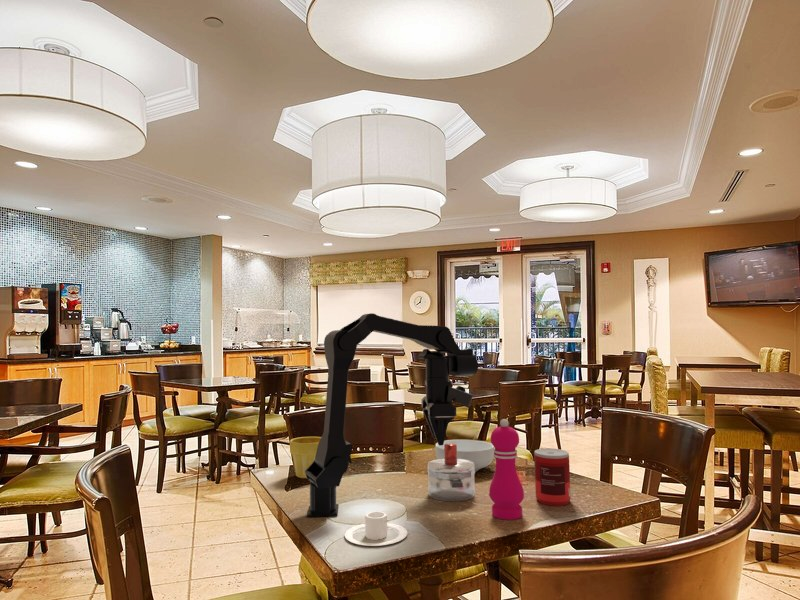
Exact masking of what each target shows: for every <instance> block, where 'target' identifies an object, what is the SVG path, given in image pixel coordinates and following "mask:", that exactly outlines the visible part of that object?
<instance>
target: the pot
mask: <svg viewBox="0 0 800 600" xmlns="http://www.w3.org/2000/svg"><path fill="white" fill-rule="evenodd" d="M427 474H428V475H427V477H428V480H427V482H428V496H429V497H430V498H431V499H433V498H434V500H437V501H441V502H464V501H468V500H471V499H473V498H474V497H475V495H476V493H475V492H476V491H475V490H476V489H475V485H476V484H475V474H476V472H475V468H474V470H473V471H471V472H467V473H461V474H442V473H436V472H432V471H430V470H428V469H427Z"/></svg>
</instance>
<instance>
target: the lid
mask: <svg viewBox="0 0 800 600" xmlns="http://www.w3.org/2000/svg"><path fill="white" fill-rule="evenodd" d="M444 457H445V459H437V458H436V459H433V460H430V461H428V462H427V471H428V470H430V471H432V472H436V473H442V474H461V473H467V472H471V471H473V470H474V463H473V462H472V461H469V460H464V459H457V444H444Z"/></svg>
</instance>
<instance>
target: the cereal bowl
mask: <svg viewBox="0 0 800 600" xmlns="http://www.w3.org/2000/svg"><path fill="white" fill-rule="evenodd" d="M444 444H457V459H464V460H469V461H472V462H473V463H474V468H475V473H476V472H478V471H479V470H481V469H483V468H486V467H487V466H489V465H490V464H491V463H492V461H493V459H494V458H495V457H494V456H493V454H494V452H493V450H494V449H495V447H494V446H493V445H492V443H491V442H489V441H488V442H487V441H482V440H476V439H444ZM444 444H443V445H438V442H436V443H435V448H434V449H435V456H436V460H437V459H445V457H444Z"/></svg>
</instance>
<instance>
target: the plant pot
mask: <svg viewBox="0 0 800 600" xmlns="http://www.w3.org/2000/svg"><path fill="white" fill-rule="evenodd" d="M321 437H322V436H301V437H295V438H291V439H290V440H289V453H290V454H291V455H292V461H293V466H294V471H295V472H294V473H295V476H296V477H297V478H300V479H307V477H306V474H305V471H306V469H307V468H308V467H309V466H310V465H311V464H312V462H313V461H314V460H315V456H316V452H317V448H318V444H319V442H320V439H321Z"/></svg>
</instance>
